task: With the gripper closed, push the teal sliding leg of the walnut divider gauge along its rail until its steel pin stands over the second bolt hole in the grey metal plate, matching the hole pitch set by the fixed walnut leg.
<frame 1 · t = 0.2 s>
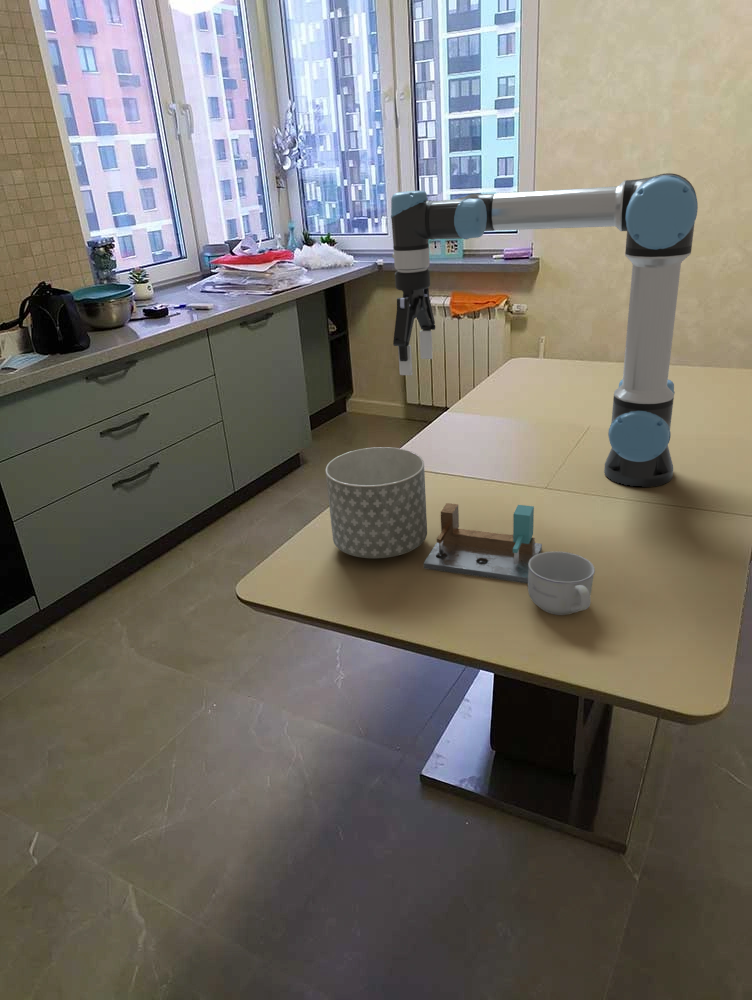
hand: (416, 366, 164), 28 cm above the table, fingers open, 13 cm apart
planter: (381, 548, 146), on the table
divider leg: (520, 535, 134), point 6 cm above the table, slide at -7.0 cm
teacup: (562, 610, 123), on the table
gauge board: (483, 558, 139), on the table
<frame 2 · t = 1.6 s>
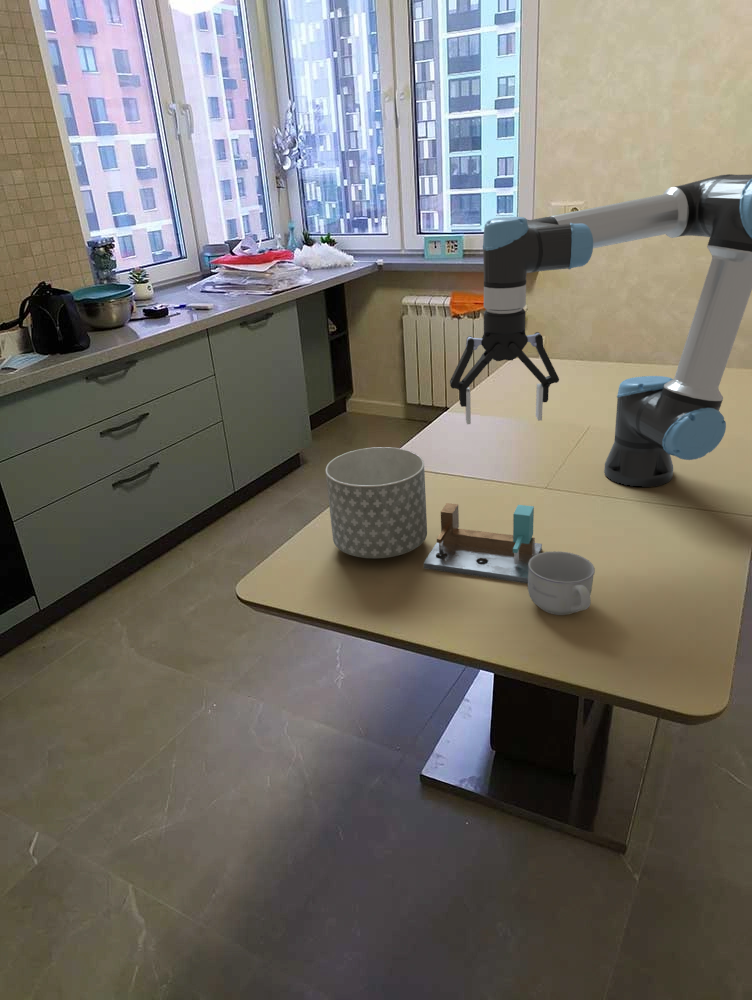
hand: (503, 420, 140), 24 cm above the table, fingers open, 13 cm apart
nothing on the table moved.
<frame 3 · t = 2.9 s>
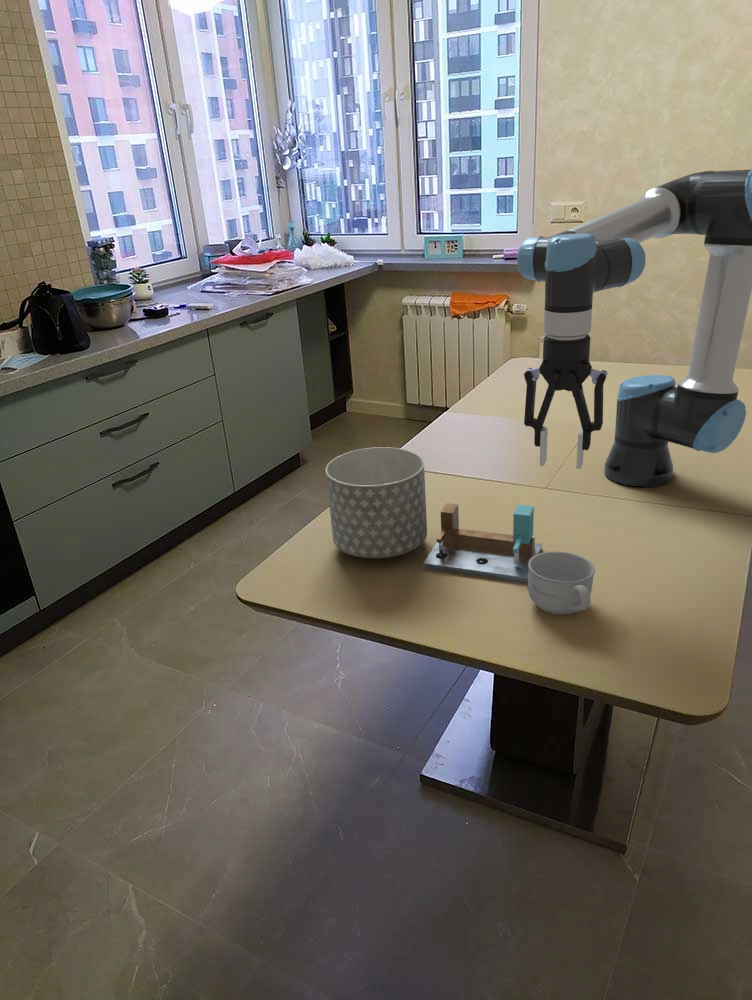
hand: (561, 464, 128), 20 cm above the table, fingers open, 6 cm apart
nothing on the table moved.
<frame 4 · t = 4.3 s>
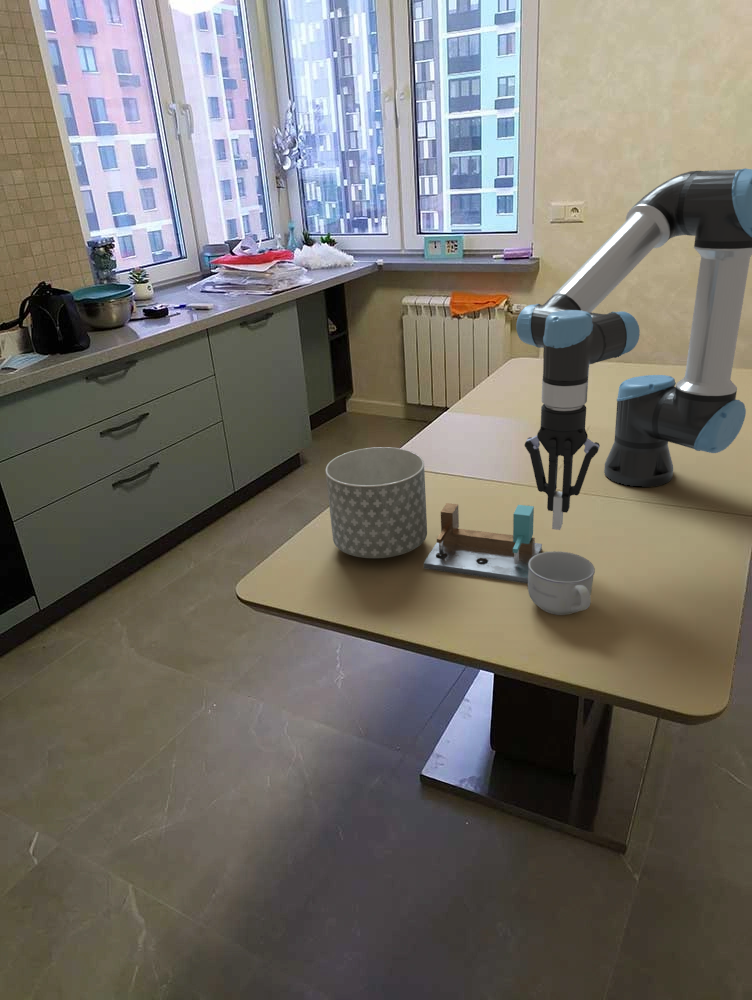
hand: (557, 526, 133), 7 cm above the table, fingers closed
nothing on the table moved.
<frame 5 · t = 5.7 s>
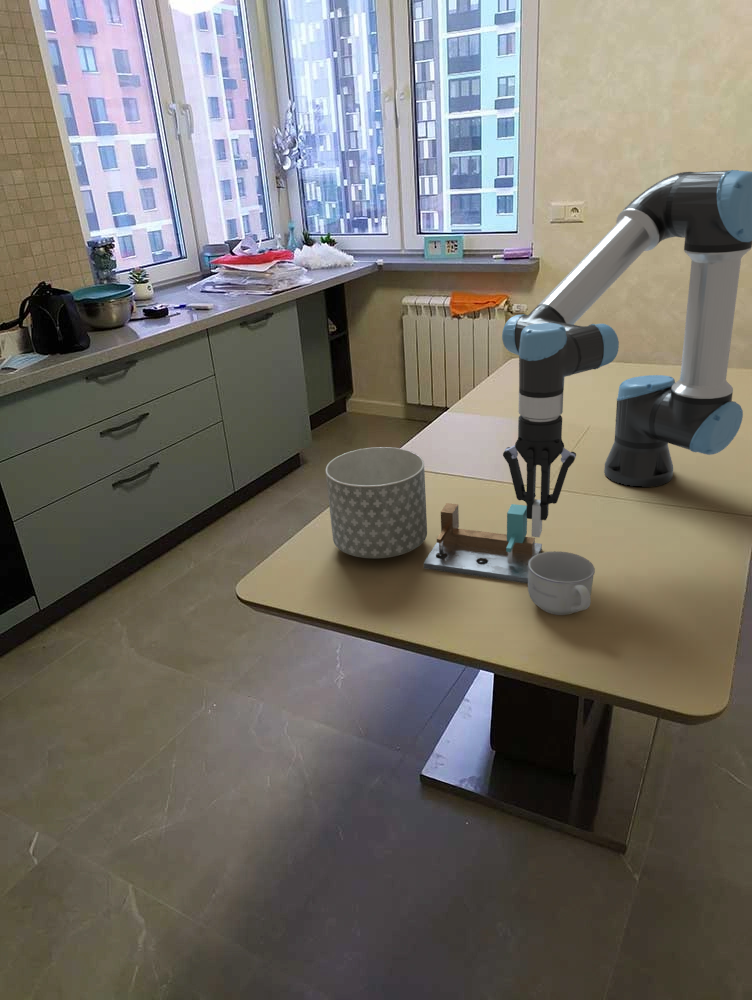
hand: (536, 533, 136), 5 cm above the table, fingers closed
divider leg: (513, 535, 135), point 6 cm above the table, slide at -5.8 cm, touching gripper
everything else where it was.
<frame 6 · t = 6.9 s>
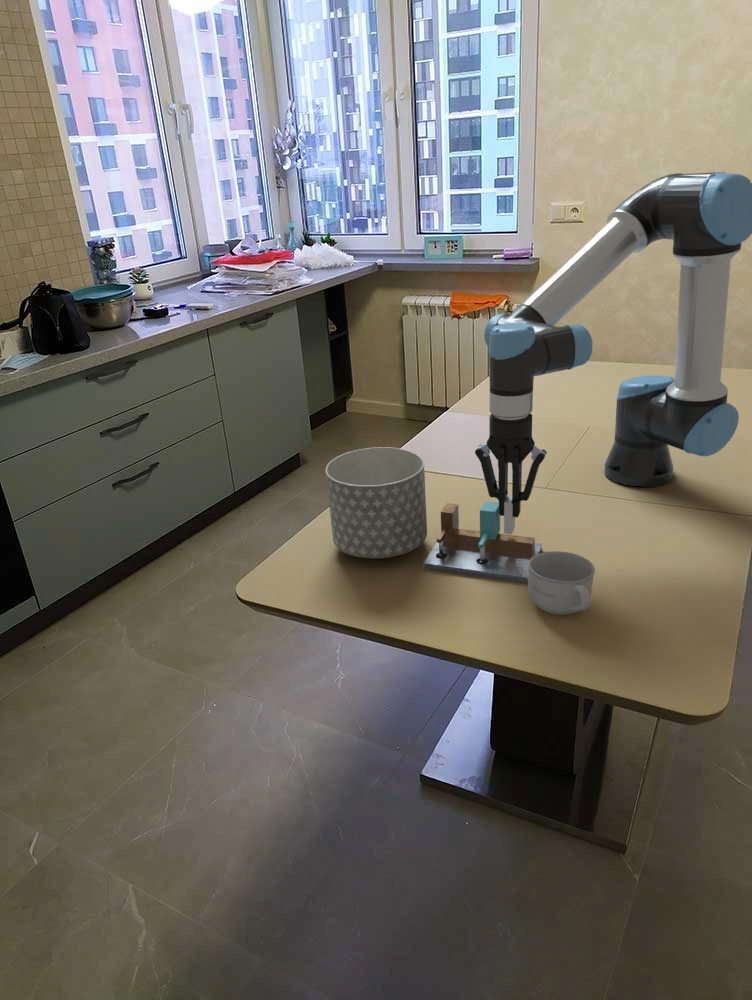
hand: (509, 530, 138), 5 cm above the table, fingers closed
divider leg: (486, 531, 137), point 6 cm above the table, slide at -0.6 cm, touching gripper
everything else where it was.
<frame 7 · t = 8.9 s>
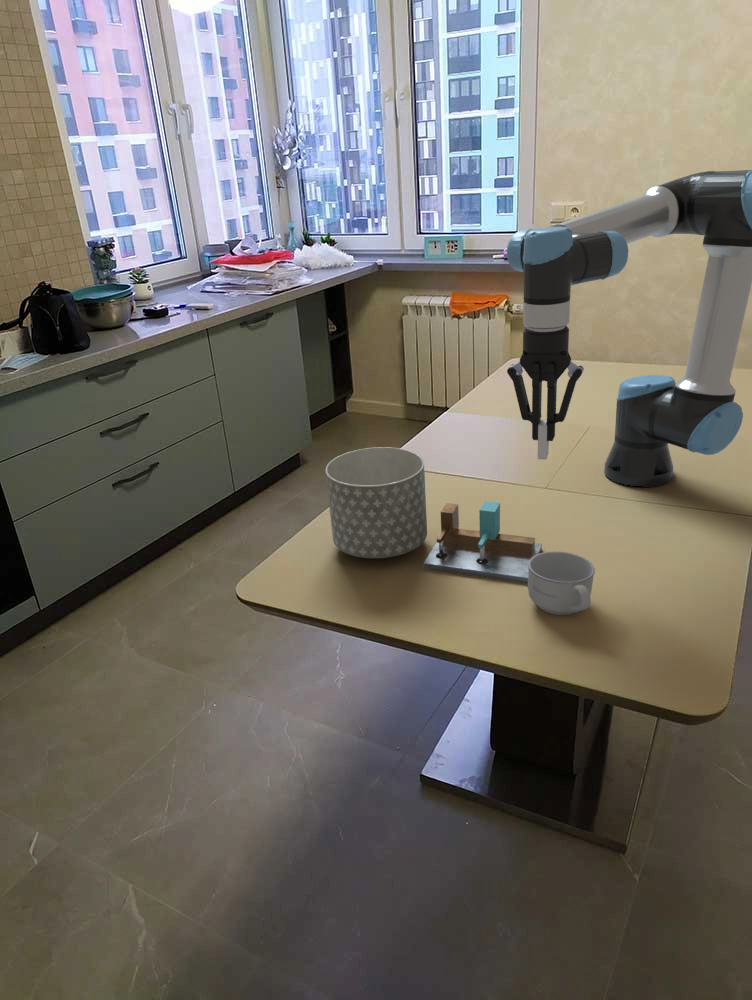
hand: (543, 456, 131), 20 cm above the table, fingers closed
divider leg: (486, 531, 137), point 6 cm above the table, slide at -0.5 cm
everything else where it was.
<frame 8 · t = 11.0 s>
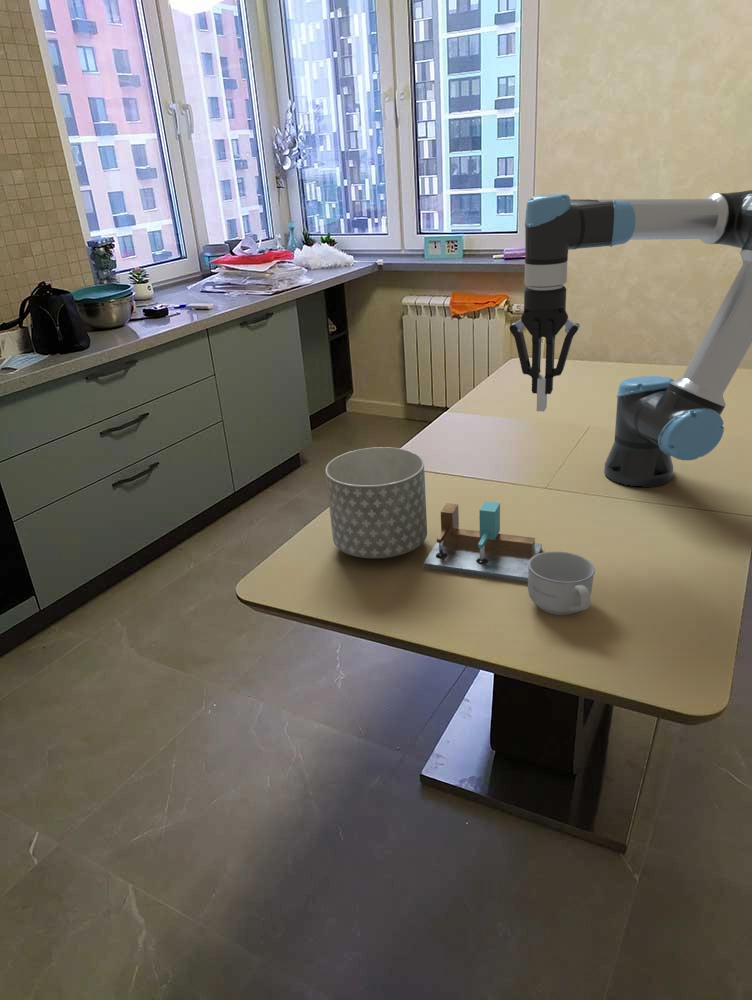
hand: (541, 409, 142), 24 cm above the table, fingers closed
nothing on the table moved.
at the end: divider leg slide at -0.5 cm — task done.
